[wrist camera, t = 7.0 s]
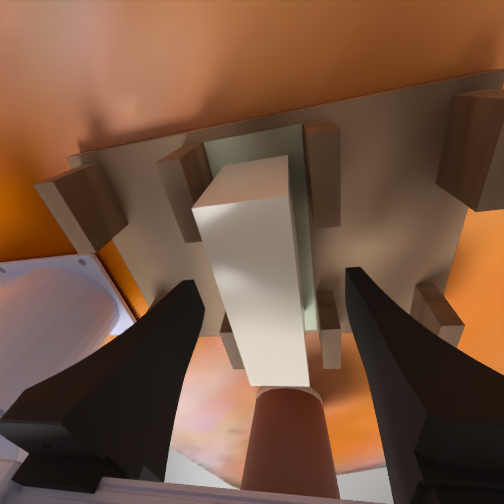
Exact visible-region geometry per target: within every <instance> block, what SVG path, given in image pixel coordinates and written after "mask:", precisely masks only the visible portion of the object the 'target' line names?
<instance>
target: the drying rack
mask: <svg viewBox="0 0 504 504" xmlns="http://www.w3.org/2000/svg"><path fill="white" fill-rule="evenodd" d="M503 82H504V69H500V70H487V71H482V72H478V73H473V74H468V75H463V76H458V77H453V78H448V79H443V80H438V81H433V82H428V83H423V84H418V85H413V86H408V87H403V88H398V89H393V90H389V91H384V92H379V93H374V94H369V95H364V96H359V97H354V98H349V99H344V100H339V101H334V102H329V103H324V104H319V105H314V106H309V107H304V108H300V109H295V110H290V111H285V112H280V113H275V114H270V115H265V116H260V117H255V118H250V119H245V120H240V121H235V122H230V123H225V124H220V125H215V126H211V127H206V128H201V129H196V130H191V131H186V132H181V133H176V134H171V135H166V136H161V137H156V138H151V139H146V140H141V141H136V142H131V143H126V144H122V145H117V146H112V147H107V148H102V149H97V150H92V151H87V152H82V153H78V154H75V155H72V156H69V157H66V158H67V160H68V162H69V164H70V165H71V167H72V170H69V171H67V172H64V173H62V174H59V175H57V176H54V177H52V178H49V179H47V180H44V181H42V182H39V183H37V184H34V185H33V186H34V188H35V189H36V191H37V192H38V194H39V195H40V197H41V198H42V200H43V201H44V203H45V204H46V206H47V207H48V209H49V210H50V212H51V213H52V215H53V216H54V218H55V219H56V221H57V222H58V224H59V225H60V227H61V228H62V230H63V231H64V233H65V235H66V236H67V238H68V239H69V241H70V242H71V244H72V245H73V247H74V248H75V250H76V251H77V253H78V254H79V255H81V254H90V253H97V252H98V251H99V250H100V249H101V248H102V247H104V246H105V245H106V244H107V243H108V242H109V241H110V240H111V239H112V241H113V243H114V244H115V246H116V248H117V250H118V252H119V253H120V255H121V257H122V259H123V261H124V262H125V264H126V266H127V268H128V269H129V271H130V273H131V275H132V277H133V278H134V280H135V282H136V284H137V286H138V287H139V289H140V291H141V293H142V295H143V296H144V298H145V300H146V302H147V304H148V305H149V307H150V308H149V309H148V311H149V310H151V309H152V308H153V307H154V306H155V305H156V304H157V303H158V302H159V301H160V300H161V299H162V298H164V297H165V296H166V295H167V294H168V293H169V292H170V291H171V290H172V289H173V288H174V287H175V286H176V285H178V284H179V283H180V282H181V281H182V280H192V279H194V281H195V283H196V286H197V289H198V291H199V294H200V296H201V299H202V301H203V304H204V306H205V314H204V319H203V324H202V328H201V331H200V334H199V337H212V336H221V338H222V341H223V344H224V346H225V349H226V351H227V354H228V357H229V359H230V362H231V365H232V367H233V369H245V367H244V364H243V361H242V358H241V355H240V352H239V349H238V346H237V343H236V340H235V337H234V334H233V331H232V328H231V325H230V322H229V319H228V316H227V313H226V310H225V307H224V304H223V301H222V298H221V295H220V292H219V289H218V286H217V283H216V280H215V277H214V274H213V271H212V268H211V265H210V262H209V259H208V256H207V253H206V250H205V247H204V244H203V241H202V238H201V235H200V232H199V229H198V227H197V224H196V221H195V218H194V215H193V212H192V209H191V208H192V207H193V206H194V204H195V203H196V202H197V201H198V199H199V198H200V197H201V195H202V194H203V193H204V191H205V190H206V189H207V188H208V186H209V185H210V184H211V182H212V181H213V180H214V178H215V177H216V176H217V174H218V173H219V172H220V171H221V169H222V168H223V167H224V165H229V164H236V163H242V162H248V161H254V160H260V159H266V158H272V157H278V156H284V155H288V160H289V169H290V179H291V188H292V198H293V208H294V217H295V227H296V236H297V246H298V256H299V265H300V275H301V284H302V294H303V304H304V314H305V328H306V334H319V337H320V345H321V353H322V361H323V369H341V333H353V332H352V329H351V326H350V323H349V319H348V314H347V309H346V304H345V268H347V267H361V268H362V269H363V270H364V271H365V272H366V273H367V274H368V275H369V277H370V278H371V279H372V280H373V281H374V282H375V283H376V284H377V285H378V286H379V287H380V288H381V289H382V290H383V291H384V292H385V293H386V294H387V295H388V296H389V297H390V298H391V299H392V300H393V301H394V302H396V303H397V304H398V305H399V306H400V307H401V308H402V309H403V310H405V311H406V312H407V313H408V314H409V315H411V316H412V317H413V318H414V319H415V320H417V321H418V322H419V323H421V324H422V325H423V326H425V327H426V328H427V329H429V330H430V331H431V332H433V333H434V334H436V335H437V336H438V337H440V338H441V339H443V340H445V341H446V342H448V343H449V344H451V345H452V346H454V347H456V348H457V345H458V343H459V340H460V337H461V335H462V332H463V329H464V327H465V325H464V323H463V322H462V321H461V319H460V318H459V316H458V315H457V314H456V312H455V311H454V310H453V308H452V307H451V305H450V304H449V303H448V301H447V300H446V299H445V297H444V296H443V294H444V290H445V287H446V283H447V280H448V276H449V273H450V269H451V266H452V262H453V259H454V255H455V252H456V248H457V244H458V241H459V237H460V234H461V230H462V227H463V223H464V220H465V216H466V213H467V209H468V207H469V208H471V209H472V210H474V211H475V212H481V211H490V210H499V209H504V90H501V89H502V86H503ZM148 311H147V312H148Z"/></svg>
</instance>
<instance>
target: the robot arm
mask: <svg viewBox="0 0 504 504" xmlns="http://www.w3.org/2000/svg"><path fill="white" fill-rule="evenodd" d="M345 304H346V309H347V314H348V319H349V323H350V326H351V329H352V332H353V335H354V338H355V341H356V344H357V347H358V350H359V353H360V356H361V359H362V362H363V365H364V368H365V371H366V375H367V378H368V382H369V387H370V391H371V395H372V400H373V404H374V409H375V413H376V418H377V422H378V427H379V432H380V436H381V441H382V446H383V451H384V456H385V460H386V466H387V470H388V476H389V481H390V486H391V491H392V496H393V501H394V504H504V375H502V374H500V373H498V372H496V371H495V370H493V369H491V368H489V367H487V366H486V365H484V364H482V363H480V362H479V361H477V360H475V359H473V358H472V357H470V356H468V355H467V354H465V353H463V352H462V351H460V350H459V349H457V348H456V347H454V346H452V345H451V344H449V343H448V342H446V341H445V340H443V339H441V338H440V337H438V336H437V335H436V334H434V333H433V332H431V331H430V330H429V329H427V328H426V327H425V326H423V325H422V324H421V323H419V322H418V321H417V320H415V319H414V318H413V317H412V316H411V315H409V314H408V313H407V312H406V311H405V310H403V309H402V308H401V307H400V306H399V305H398V304H397V303H396V302H394V301H393V300H392V299H391V298H390V297H389V296H388V295H387V294H386V293H385V292H384V291H383V290H382V289H381V288H380V287H379V286H378V285H377V284H376V283H375V282H374V281H373V280H372V279H371V278H370V277H369V275H368V274H367V273H366V272H365V271H364V270H363V269H362V268H361V267H347V268H345ZM204 314H205V306H204V304H203V301H202V299H201V296H200V294H199V291H198V289H197V286H196V283H195V281H194V279H192V280H182V281H181V282H180V283H179V284H178V285H176V286H175V287H174V288H173V289H172V290H171V291H170V292H169V293H168V294H167V295H166V296H165V297H164V298H162V299H161V300H160V301H159V302H158V303H157V304H156V305H155V306H154V307H153V308H152V309H151V310H149V311H148V312H147V313H146V314H145V315H144V316H142V317H141V318H140V319H139V320H138V321H136V319H135V317H134V316H133V314H132V312H131V311H130V309H129V308H128V306H127V304H126V303H125V301H124V299H123V298H122V296H121V295H120V293H119V291H118V290H117V288H116V287H115V285H114V283H113V282H112V280H111V278H110V277H109V275H108V274H107V272H106V270H105V269H104V267H103V266H102V264H101V262H100V261H99V259H98V258H97V256H96V255H94V254H92V253H90V254H81V255H79V254H73V255H64V256H54V257H45V258H36V259H27V260H17V261H8V262H0V504H384V503H373V502H363V501H352V500H341V499H331V498H321V497H310V496H300V495H289V494H279V493H268V492H258V491H247V490H237V489H225V488H215V487H204V486H194V485H184V484H173V483H164V479H165V472H166V465H167V459H168V453H169V446H170V441H171V436H172V430H173V425H174V420H175V415H176V411H177V406H178V402H179V397H180V393H181V389H182V385H183V381H184V377H185V374H186V371H187V368H188V365H189V362H190V359H191V357H192V354H193V351H194V348H195V345H196V343H197V340H198V337H199V334H200V331H201V328H202V324H203V319H204ZM109 335H119V336H117V337H116V338H115V339H113V340H112V341H110V342H109V343H107V344H106V345H104V346H103V347H101V346H102V345H103V343H104V342H105V340H106V339H107V337H108V336H109ZM100 347H101V348H100Z"/></svg>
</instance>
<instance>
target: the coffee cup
mask: <svg viewBox="0 0 504 504" xmlns="http://www.w3.org/2000/svg"><path fill="white" fill-rule="evenodd" d="M240 490H247V491H258V492H268V493H279V494H289V495H300V496H310V497H321V498H331V499H340V495H339V489H338V484H337V478H336V473H335V468H334V462H333V457H332V452H331V446H330V441H329V436H328V430H327V425H326V420H325V414H324V409H323V401H322V398H321V396H320V394H319V393H318V392H317V391H316V390H314V389H313V388H312V387H305V386H262V387H261V389H260V390H259V391H258V392H257V399H256V405H255V410H254V416H253V422H252V427H251V433H250V439H249V444H248V450H247V456H246V461H245V467H244V472H243V478H242V484H241V489H240Z"/></svg>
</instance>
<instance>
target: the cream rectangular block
mask: <svg viewBox="0 0 504 504" xmlns="http://www.w3.org/2000/svg"><path fill="white" fill-rule="evenodd" d="M191 209H192V212H193V215H194V218H195V221H196V224H197V227H198V229H199V232H200V235H201V238H202V241H203V244H204V247H205V250H206V253H207V256H208V259H209V262H210V265H211V268H212V271H213V274H214V277H215V280H216V283H217V286H218V289H219V292H220V295H221V298H222V301H223V304H224V307H225V310H226V313H227V316H228V319H229V322H230V325H231V328H232V331H233V334H234V337H235V340H236V343H237V346H238V349H239V352H240V355H241V358H242V361H243V364H244V367H245V370H246V373H247V376H248V379H249V382H250V385H251V386H305V387H310V383H309V369H308V356H307V342H306V328H305V314H304V304H303V294H302V284H301V275H300V265H299V256H298V246H297V236H296V227H295V217H294V208H293V198H292V188H291V179H290V169H289V160H288V155H284V156H278V157H272V158H266V159H260V160H254V161H248V162H242V163H236V164H229V165H224V167H223V168H222V169H221V171H220V172H219V173H218V174H217V176H216V177H215V178H214V180H213V181H212V182H211V184H210V185H209V186H208V188H207V189H206V190H205V191H204V193H203V194H202V195H201V197H200V198H199V199H198V201H197V202H196V203H195V204H194V206H193V207H192V208H191Z"/></svg>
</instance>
